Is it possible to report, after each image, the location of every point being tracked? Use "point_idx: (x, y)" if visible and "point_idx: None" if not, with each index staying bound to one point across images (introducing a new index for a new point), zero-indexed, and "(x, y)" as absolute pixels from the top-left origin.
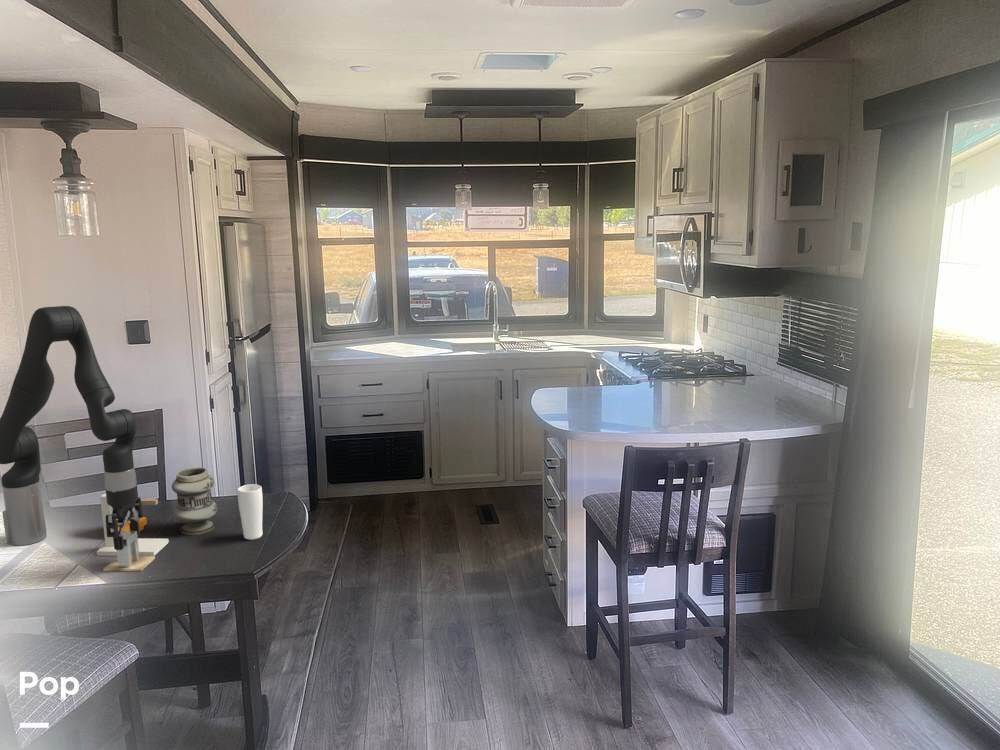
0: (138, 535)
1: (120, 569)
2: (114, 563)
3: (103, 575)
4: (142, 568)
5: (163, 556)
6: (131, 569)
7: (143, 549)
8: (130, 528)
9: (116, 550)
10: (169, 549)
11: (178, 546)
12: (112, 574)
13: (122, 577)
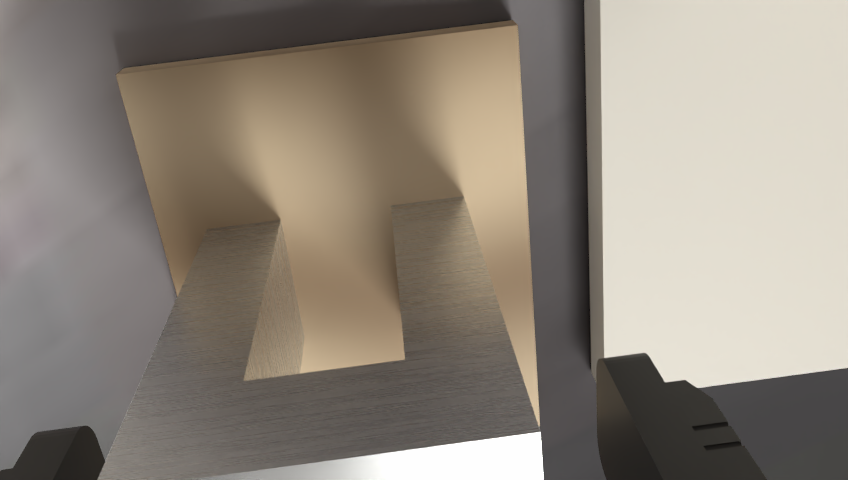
0: (607, 468)
1: (172, 278)
2: (296, 113)
3: (27, 140)
4: None
5: (585, 455)
6: None
7: (672, 259)
8: (647, 458)
9: (155, 350)
10: (752, 420)
11: (820, 458)
12: (84, 226)
13: (58, 367)
